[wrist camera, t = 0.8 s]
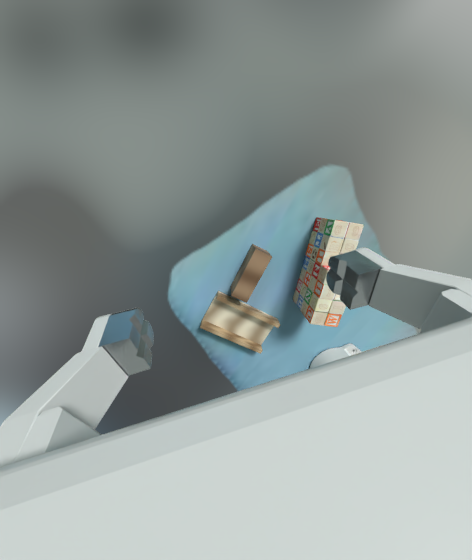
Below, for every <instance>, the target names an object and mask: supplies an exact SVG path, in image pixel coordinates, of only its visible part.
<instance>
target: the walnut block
mask: <svg viewBox="0 0 472 560" xmlns="http://www.w3.org/2000/svg"><path fill="white" fill-rule="evenodd" d="M271 258H272V256H271V255H270V254H269V253H268V252H267V251H266V250H264V249H262V248H260V247H258V246H256V245H254V244H252V246H251V248H250V250H249V252H248V254H247V255H246V257H245V259H244V261H243V263H242V265H241V267H240V269H239V271H238V273H237V275H236V277H235V279H234V281H233V283H232V285H231V296H232V297H235V298H237V299H239V300H242V301H244V302H246V303H247V301H248V299H249V298H250V296H251V294H252V292H253V290H254V289H255V287H256V285H257V283H258V281H259V280H260V278H261V276H262V274H263V272H264V271H265V269H266V267H267V265H268V263H269V262H270V260H271Z"/></svg>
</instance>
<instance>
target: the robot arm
mask: <svg viewBox="0 0 472 560" xmlns="http://www.w3.org/2000/svg"><path fill="white" fill-rule="evenodd" d="M328 266H329V267H330V268H331V269H330V270H329V271H328V273H327V276H326V281H327V285H328V287H329V289H330V290H331V291H332V292H333V293H335V294H337V295H340V300H341V301H342V302H343V303H344V304H345V305H346V306H347V307H348V308H349V309H350V310H351V309H355V308H358V307H362V306H366V305H369V306H370V307H373V308H375V309H377V310H379V311H381V312H384V313H386V314H388V315H390V316H392V317H395V318H397V319H399V320H401V321H403V322H405V323H408V324H410V325H412V326H414V327H417V328H419V329H420V330H419V332H418V334H417V335H414V336H411V337H408V338H405V339H401V340H398V341H395V342H392V343H389V344H386V345H383V346H379V347H376V348H373V349H370V350H367V351H364V352H362V351H361V350H359V349H358V348H357V347H356V346H354V345H353V344H347V345H344V346H342V347H339V348H332V349H328V350H325V351H323V352H322V353H320V354H319V355H317V356H316V357H315V358H314V360H313V361H312V363H311V365H310V369H307V370H304V371H301V372H298V373H295V374H292V375H289V376H285V377H282V378H279V379H276V380H273V381H270V382H267V383H263V384H260V385H257V386H254V387H251V388H248V389H245V390H241V391H238V392H236V393H232V394H229V395H226V396H223V397H220V398H216V399H214V400H210V401H207V402H204V403H201V404H197V405H194V406H191V407H188V408H185V409H182V410H179V411H175V412H172V413H169V414H166V415H163V416H160V417H157V418H154V419H150V420H148V421H144V422H141V423H138V424H135V425H132V426H129V427H125V428H122V429H119V430H116V431H113V432H110V433H107V434H104V435H102V434H100V433H99V432H97V431H96V430H95V428H96V427H97V425H98V423H99V422H100V420H101V419H102V417H103V416H104V414H105V413H106V411H107V410H108V408H109V406H110V405H111V403H112V402H113V400H114V398H115V397H116V395H117V394H118V392H119V391H120V389H121V388H122V386H123V384H124V383H125V381H126V380H127V378H128V376H129V375H132V374H135V373H137V372H141V371H144V370H147V369H150V368H151V360H152V352H151V351H150V348H151V346H152V345H153V340H154V337H153V331H152V328H151V326H150V324H149V322H148V321H145V320H143V318H144V313H143V312H142V310H141V309H140V308H133V309H129V310H125V311H121V312H117V313H113V314H109V315H105V316H101V317H98V318H97V319H96V320H95V322H94V324H93V326H92V329H91V331H90V333H89V336H88V338H87V340H86V343H85V345H84V347H83V350H82V352H81V353H77V354H76V355H75V356H74V357H72V358H71V359H70V360H69V361H68V362H67V363H66V364H65V365H64V366H63V367H62V368H61V369H60V370H58V371H57V372H56V373H55V374H54V375H53V376H52V377H51V378H50V379H49V380H48V381H47V382H46V383H45V384H44V385H42V386H41V387H40V388H39V389H38V390H37V391H36V392H35V393H34V394H33V395H32V396H31V397H29V398H28V399H27V400H26V401H25V402H24V403H23V404H22V405H21V406H20V407H19V408H18V409H17V410H15V411H14V412H13V413H12V414H11V415H10V416H9V417H8V418H7V419H6V420H5V421H4V422H3V423H2V425H1V427H0V560H472V279H468V278H464V277H459V276H454V275H449V274H445V273H439V272H435V271H430V270H425V269H420V268H416V267H410V266H406V265H401V264H398V265H395V264H393V263H392V262H390V261H388V260H386V259H385V258H383V257H381V256H380V255H378V254H376V253H375V252H373V251H371V250H370V249H368V248H364V247H363V248H359V249H356V250H353V251H350V252H347V253H343V254H339V255H335V256H332V257H330V259H329V262H328Z"/></svg>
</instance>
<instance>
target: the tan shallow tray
mask: <svg viewBox="0 0 472 560" xmlns="http://www.w3.org/2000/svg"><path fill="white" fill-rule="evenodd" d="M274 326H275V327H277V328H279V326H280V323H279V321H278V319H277V318H275V317H273V316H271V315H268V314H266V313H264V312H262V311H260V310H258V309H256V308H254V307H252V306H249V305H247V304H245V303H243V302H241V301H239V300H237V299H235V298H233V297H230V296H228V295H226V294H224V293H222V292H220V291H218V292H217V294H216V296H215V298H214V299H213V301H212V303H211V305H210V307H209V308H208V310H207V312H206V314H205V316H204V317H203V319H202V321H201V325H200V328H202V329H204V330H206V331H209V332H211V333H213V334H216V335H218V336H221V337H223V338H225V339H228V340H230V341H232V342H235V343H237V344H239V345H242V346H244V347H246V348H249V349H251V350H253V351H256V352H258V353H260V354H261V352H262V347H261V344H262V343H263V341H264V340H265V338H266V337H267V335H268V334H269V332H270V331H271V330H272V328H273V327H274Z"/></svg>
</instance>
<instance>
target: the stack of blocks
mask: <svg viewBox="0 0 472 560" xmlns="http://www.w3.org/2000/svg"><path fill="white" fill-rule="evenodd" d="M363 227H364V225H362V224H356V223H350V222H345V221H340V220H331V219H325V218H318V217H317V218H316V221H315V224H314V228H313V231H312V234H311V237H310V241H309V244H308V248H307V251H306V256H305V259H304V263H303V267H302V270H301V274H300V277H299V280H298V283H297V287H296V290H295V293H294V297H293V300H294V302H295V303H296V304H297V306H298V307H299V309H300V310H301V312H302V314H303V315H304V316H305V317H306V318H307V320H308V321H309V323H310V324H316V325H325V326H333V327H338V324H339V321H340V319H341V316H342V314H343V312H344V309H345V307H346V305H345V304H344V303H343V302H342V301H341V300H340V295H337V294H335V293H333V292H332V291H331V290H330V289H329V287H328V285H327V281H326V276H327V273H328V271H329V270H330V269H331V268H330V267H329V266H328V262H329V259H330V257H332V256H335V255H339V254H343V253H347V252H350V251H353V250H356V248H357V245H358V242H359V238H360V235H361V232H362V229H363Z"/></svg>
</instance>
